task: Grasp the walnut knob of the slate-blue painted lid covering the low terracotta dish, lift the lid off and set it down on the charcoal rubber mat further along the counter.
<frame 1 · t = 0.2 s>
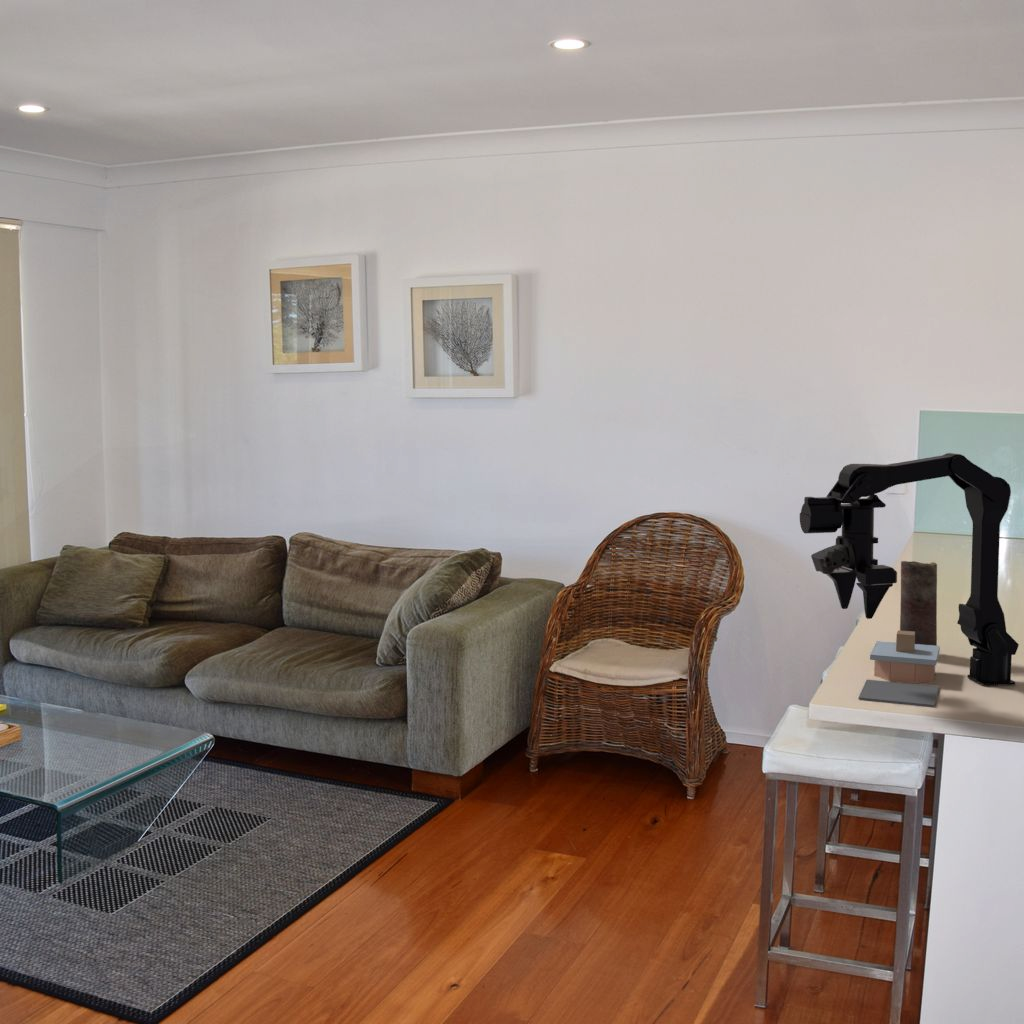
hand: (856, 613, 210), 14 cm above the countertop, fingers open, 9 cm apart
lid: (905, 655, 219), point 4 cm above the countertop, touching dish
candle: (917, 655, 235), on the countertop
dish: (904, 675, 219), on the countertop
mat: (899, 693, 206), on the countertop
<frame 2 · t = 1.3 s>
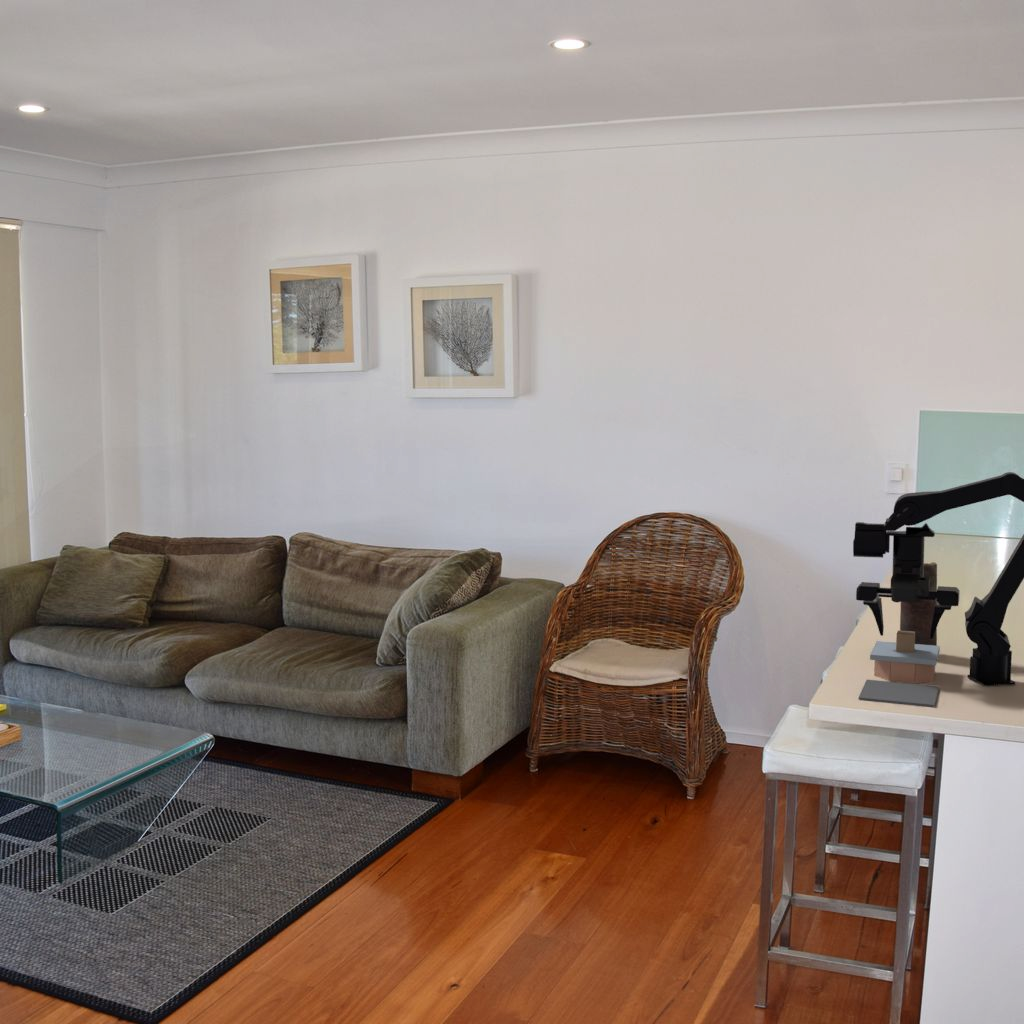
hand: (906, 637, 218), 8 cm above the countertop, fingers open, 9 cm apart
nothing on the countertop moved.
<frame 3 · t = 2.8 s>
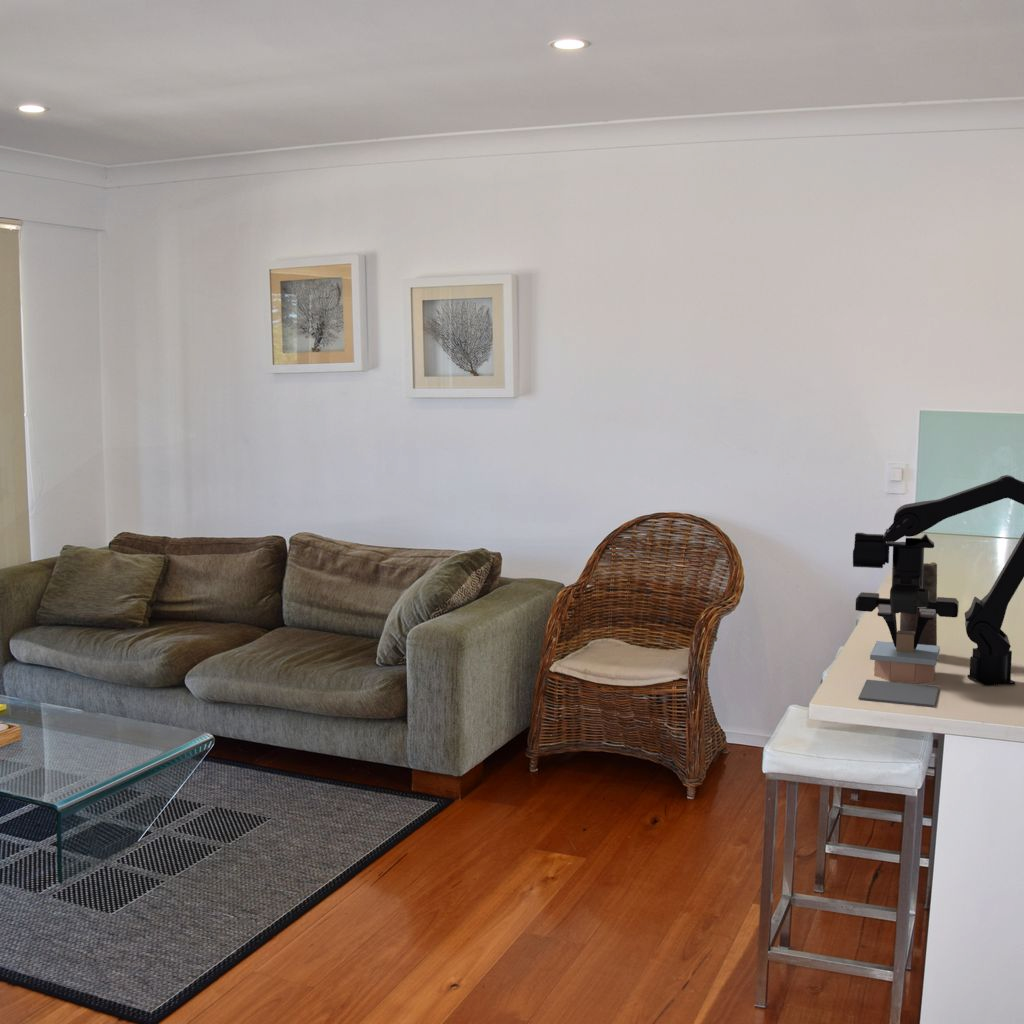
hand: (905, 647, 218), 6 cm above the countertop, fingers closed on lid, 3 cm apart
lid: (905, 655, 219), point 4 cm above the countertop, touching dish, gripper
everything else where it was.
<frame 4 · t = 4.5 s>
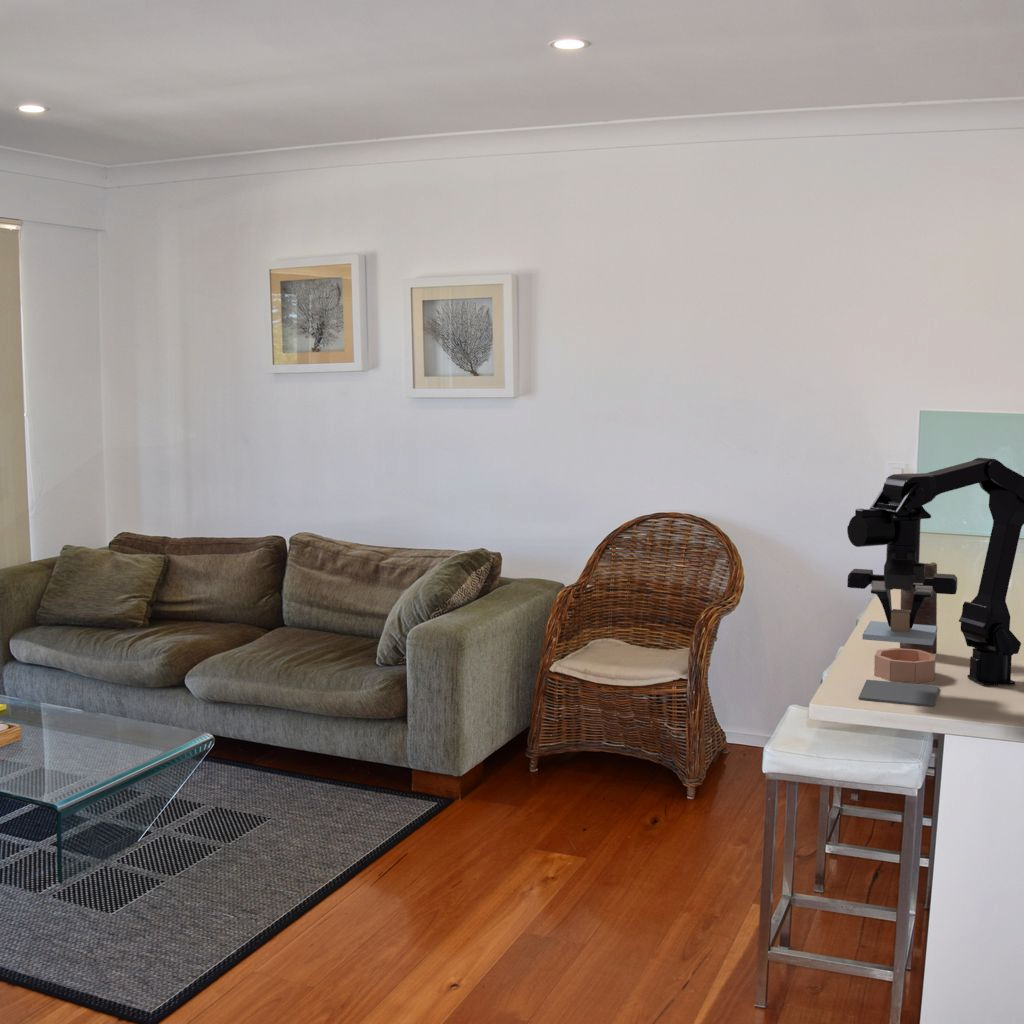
hand: (900, 627, 205), 13 cm above the countertop, fingers closed on lid, 3 cm apart
lid: (900, 635, 205), point 11 cm above the countertop, touching gripper
everything else where it was.
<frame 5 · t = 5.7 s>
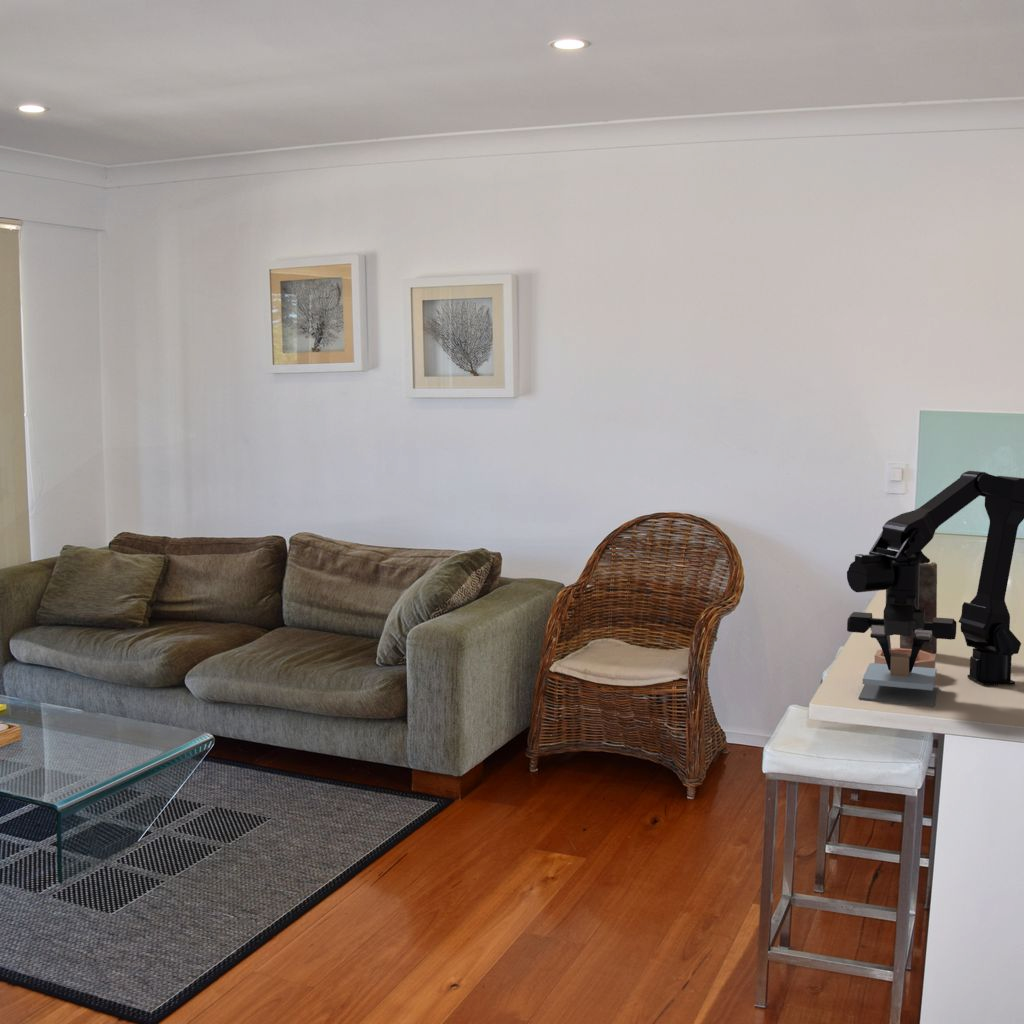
hand: (900, 670, 206), 4 cm above the countertop, fingers closed on lid, 3 cm apart
lid: (900, 678, 206), point 3 cm above the countertop, touching gripper
everything else where it was.
when the fingers open (3 cm above the countertop, at t = 6.5 s): lid drops 1 cm, resting on mat.
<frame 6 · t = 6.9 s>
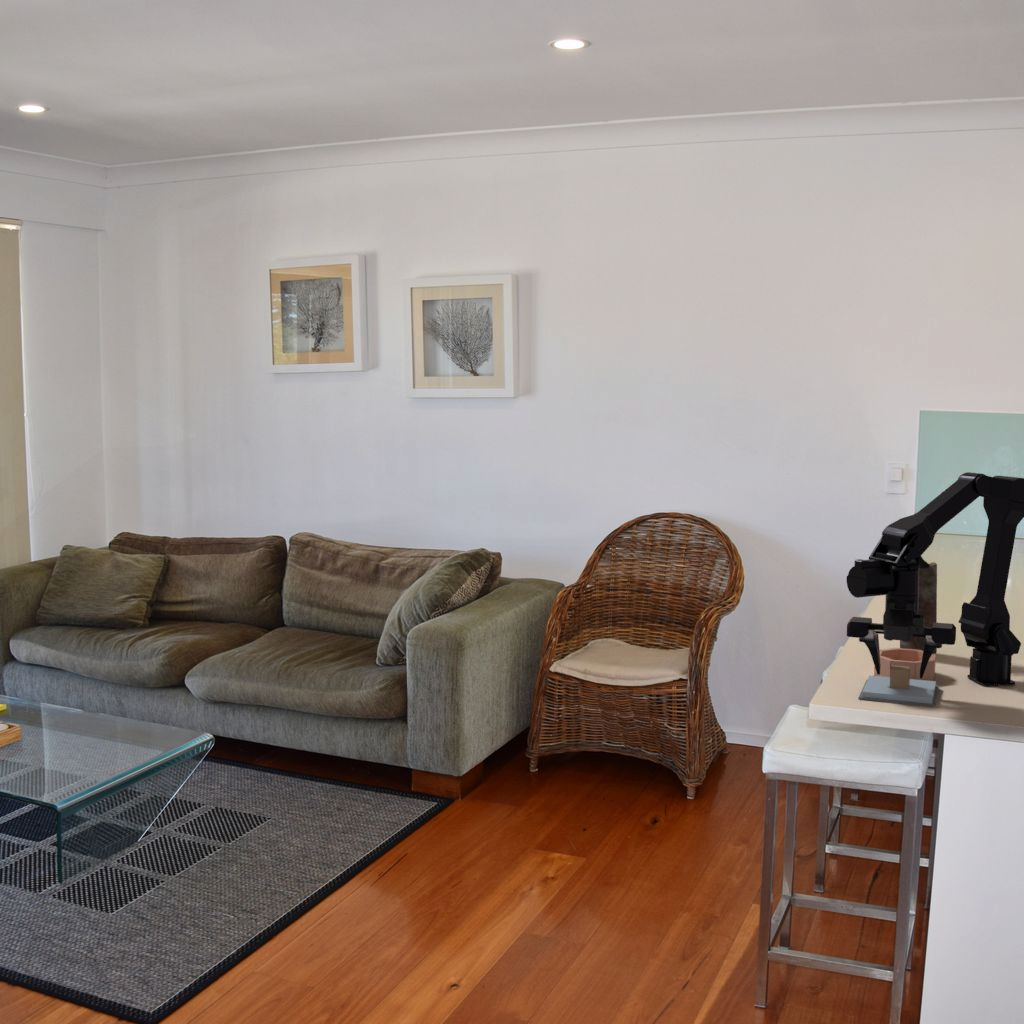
hand: (899, 675, 206), 3 cm above the countertop, fingers open, 7 cm apart
lid: (899, 691, 206), resting on mat
everything else where it was.
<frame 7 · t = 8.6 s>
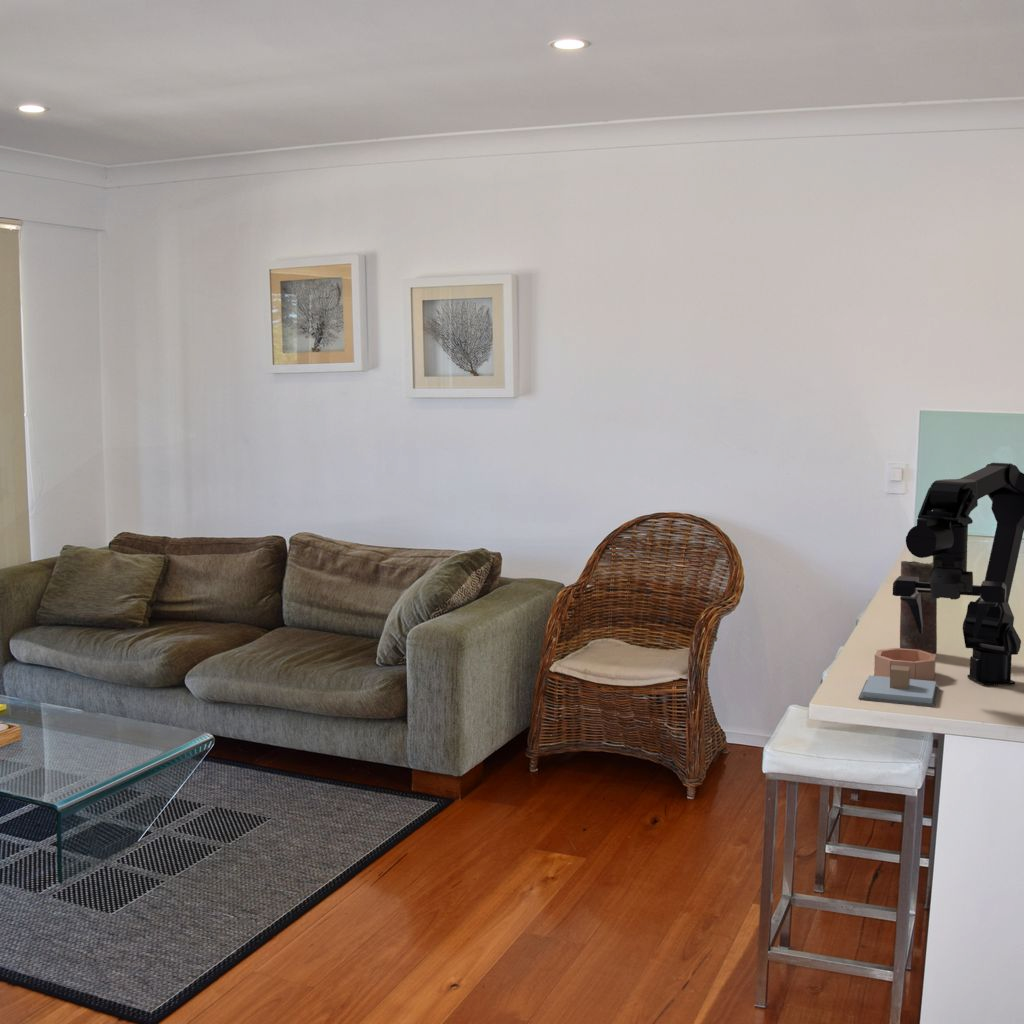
hand: (947, 635, 201), 12 cm above the countertop, fingers open, 9 cm apart
nothing on the countertop moved.
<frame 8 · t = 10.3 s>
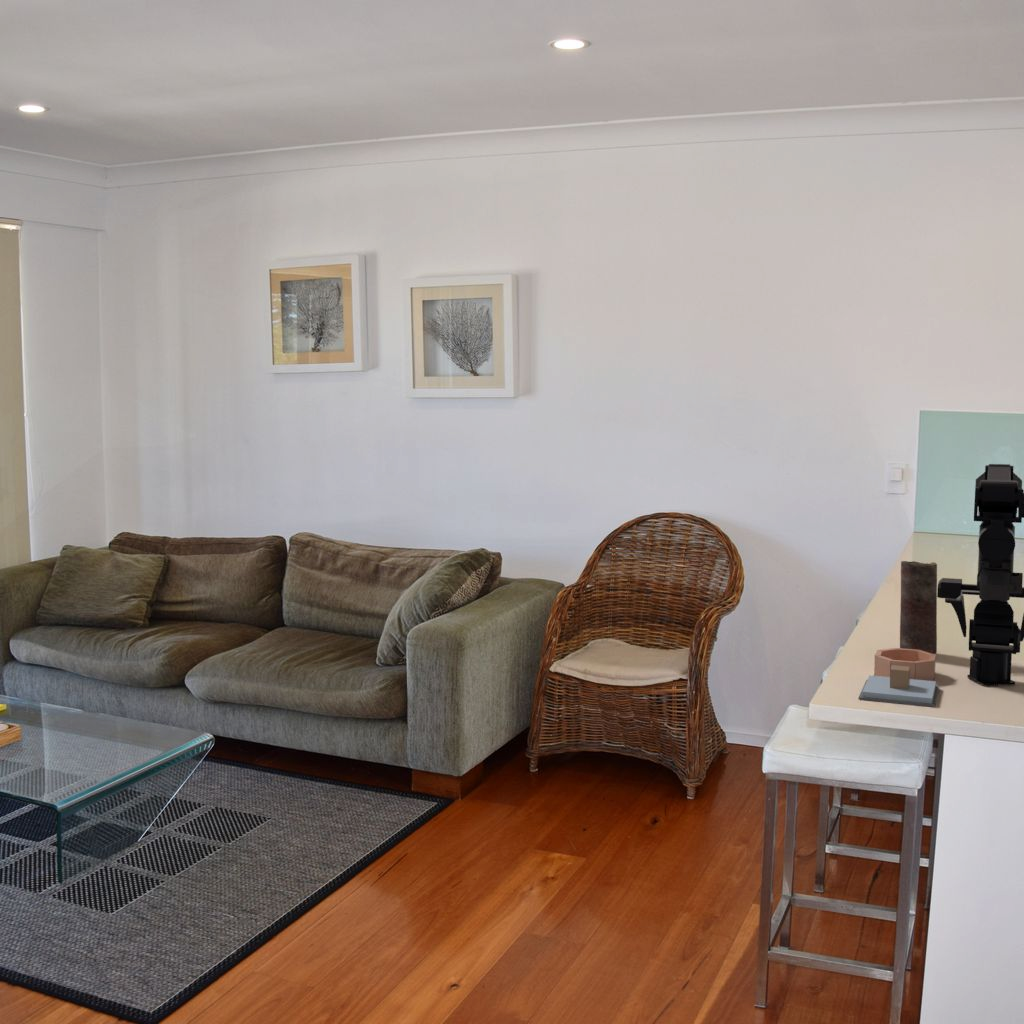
hand: (992, 638, 198), 12 cm above the countertop, fingers open, 9 cm apart
nothing on the countertop moved.
at the end: lid inside the target area on the mat (0.1 cm from its centre), point 0.4 cm above the mat's base; lid tilted 0°; lid touching mat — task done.
